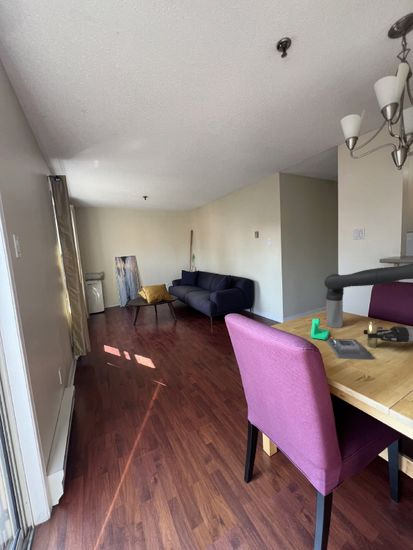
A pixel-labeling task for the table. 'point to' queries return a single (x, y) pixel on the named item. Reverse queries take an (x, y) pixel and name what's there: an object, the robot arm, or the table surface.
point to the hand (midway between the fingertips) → (366, 333)
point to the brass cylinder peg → (372, 329)
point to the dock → (348, 349)
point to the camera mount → (318, 330)
